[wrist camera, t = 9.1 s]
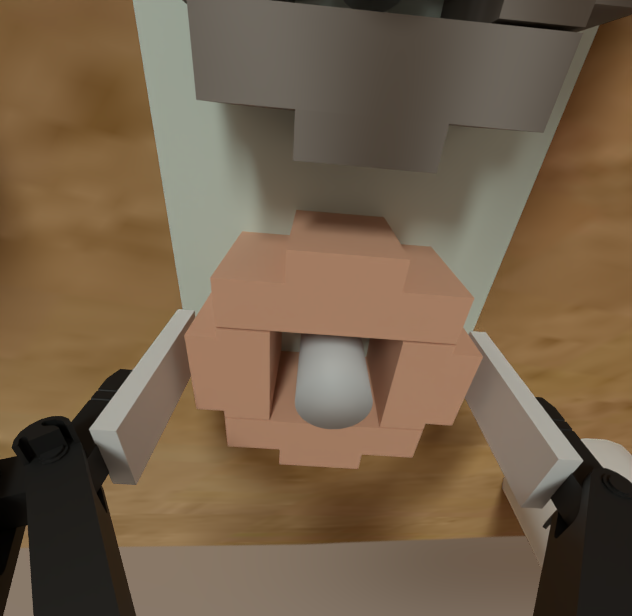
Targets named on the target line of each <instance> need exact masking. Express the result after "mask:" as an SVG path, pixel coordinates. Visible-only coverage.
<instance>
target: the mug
mask: <svg viewBox="0 0 632 616" xmlns="http://www.w3.org/2000/svg"><path fill="white" fill-rule="evenodd" d="M581 441H582V442H583V443H584V444H585V446H586V447H587V448H588V449H589V451H590V452H591V453H592V454H593V456H594V457H595V458H596V459H597V461H598V462H599V463H600V464H601V466H602V467H603V468H607V469H610V470H612V471H615V472H617V473H619V474H620V475H622V476H623V477H625V478H626V479H628V480H629V481H630V482H631V483H632V455H631V454H630V453H629V452H628V451H627V450H626V449H625V448H624V447H623V446H622V445H620V444H617V443H614V442H611V441H608V440H603V439H588V438H585V439H581ZM502 489H503V491H504V493H505V495H506V497H507V499H508V501H509V503H510V505H511V507H512V509H513V511H514V513H515V515H516V517H517V519H518V522H519V524H520V526H521V528H522V530H523V532H524V534H525V536H526V538H527V540H528V542H529V544H530V546H531V548H532V550H533V552H534V554H535V556H536V558H537V561H538V563H539V565H540V567H541V569H542V567H543V562H544V557H545V552H546V546H547V541H548V536H549V531H550V526H551V525H549V526H548V528H547V529H545V528H543V527H542V526H543V525H544V523H545V522H546V521H547V520H548V518H549V517H550V516H551V515H552V514H553V513H554V512H555V511H556V510H557V509H556V507H555V505H554V504H553V502H552V500H551V499H550V500H549V501H548V503H547V504H546V505H545V506H544V507H543V508H542V509H539V508H522V507H520V505H519V503H518V501H517V499H516V497H515V495H514V493H513V491H512V489H511V487H510V486H509V484H508V482H507V480H506V478H505V477H504V478H503V486H502Z"/></svg>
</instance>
